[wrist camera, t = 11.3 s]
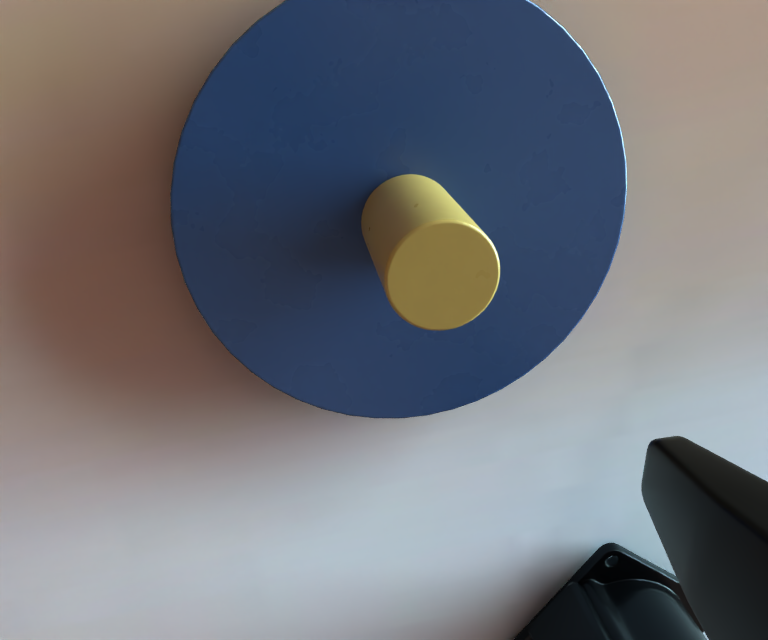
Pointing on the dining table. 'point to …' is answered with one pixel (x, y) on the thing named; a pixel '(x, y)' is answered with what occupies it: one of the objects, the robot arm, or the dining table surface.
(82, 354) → the dining table surface
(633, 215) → the dining table surface
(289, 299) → the pot lid
